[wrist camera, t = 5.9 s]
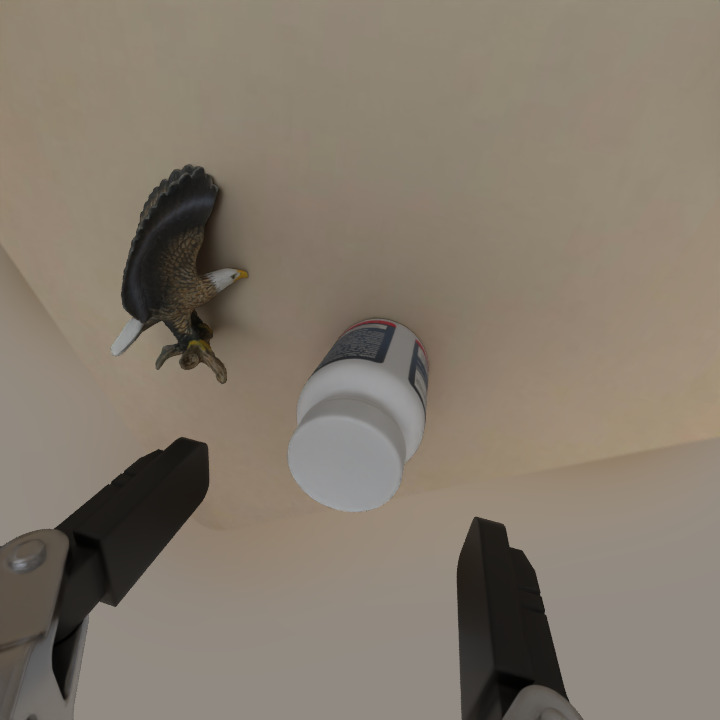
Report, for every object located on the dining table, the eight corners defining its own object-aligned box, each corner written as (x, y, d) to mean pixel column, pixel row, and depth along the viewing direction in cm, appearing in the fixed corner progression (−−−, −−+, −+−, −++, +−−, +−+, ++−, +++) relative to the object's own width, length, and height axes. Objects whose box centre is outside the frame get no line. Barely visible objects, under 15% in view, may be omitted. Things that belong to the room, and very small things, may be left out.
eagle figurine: (294, 351, 20) (262, 161, 15) (158, 418, 15) (51, 185, 11) (224, 311, 24) (183, 156, 19) (106, 355, 20) (14, 172, 15)
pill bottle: (318, 370, 21) (242, 470, 13) (366, 297, 19) (311, 364, 11) (392, 420, 21) (363, 549, 13) (449, 355, 19) (455, 462, 11)
